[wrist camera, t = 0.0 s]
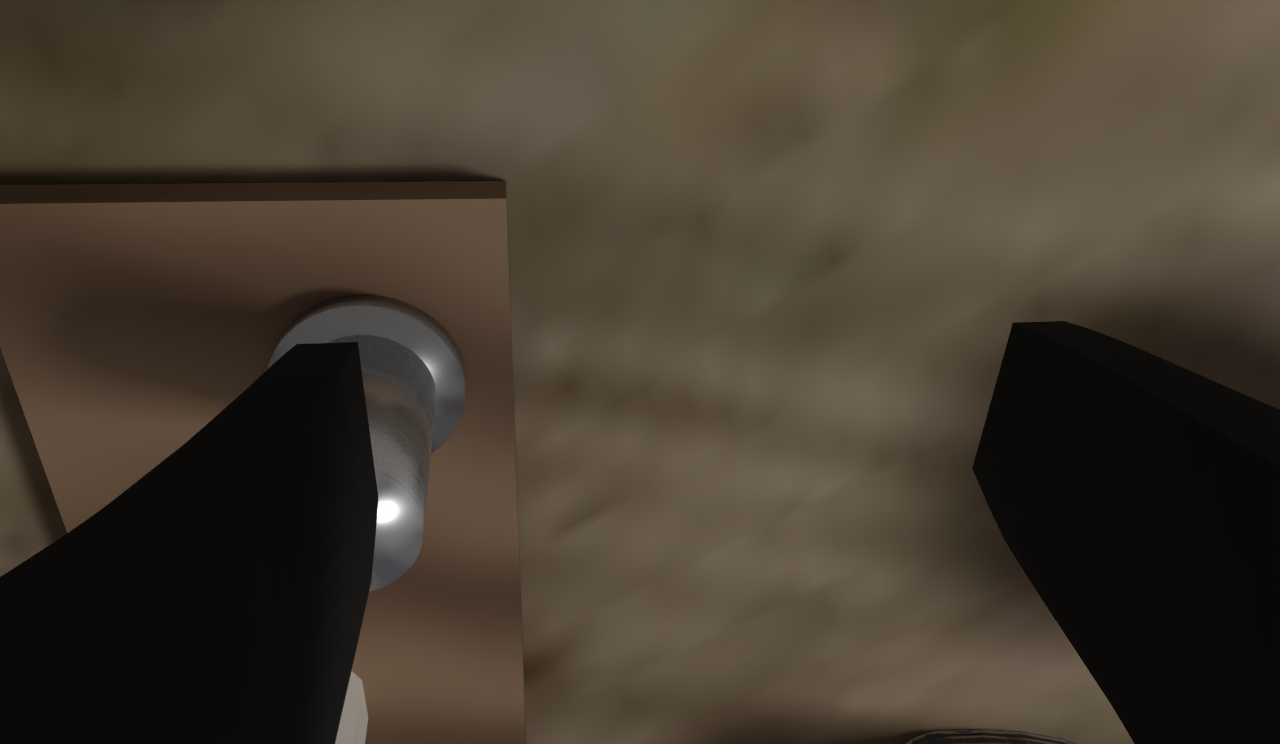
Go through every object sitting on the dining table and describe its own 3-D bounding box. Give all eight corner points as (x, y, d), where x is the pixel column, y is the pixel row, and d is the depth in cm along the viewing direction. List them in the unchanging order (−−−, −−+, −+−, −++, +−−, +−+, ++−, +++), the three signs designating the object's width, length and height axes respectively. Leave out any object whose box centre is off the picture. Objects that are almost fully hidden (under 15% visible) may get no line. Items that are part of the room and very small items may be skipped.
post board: (527, 791, 30) (535, 997, 24) (192, 822, 28) (127, 1048, 23) (505, 180, 19) (509, 319, 14) (-26, 185, 18) (-232, 339, 13)
